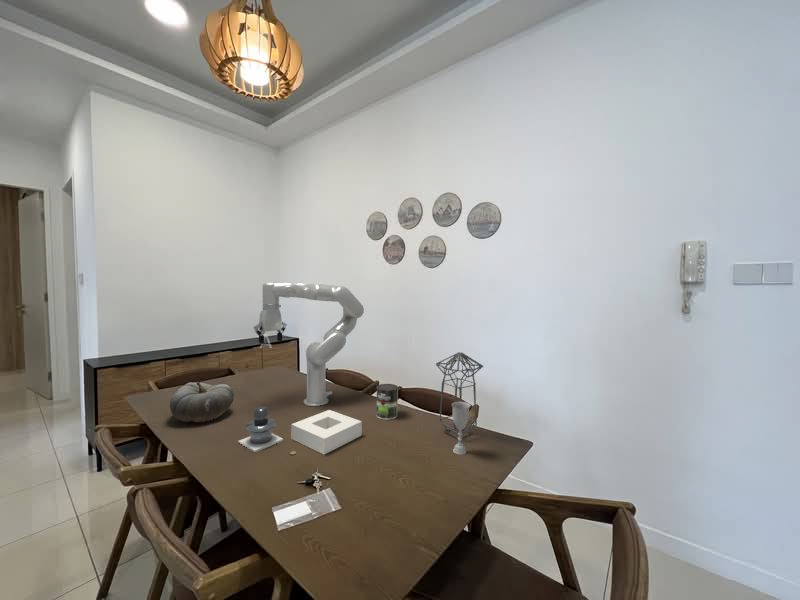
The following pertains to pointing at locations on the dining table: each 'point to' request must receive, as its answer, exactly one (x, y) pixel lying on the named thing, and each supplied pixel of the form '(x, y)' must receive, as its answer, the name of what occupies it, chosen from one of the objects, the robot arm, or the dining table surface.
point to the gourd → (201, 402)
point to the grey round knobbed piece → (260, 426)
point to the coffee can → (387, 401)
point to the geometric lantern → (459, 356)
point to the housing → (326, 431)
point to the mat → (259, 447)
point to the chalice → (460, 423)
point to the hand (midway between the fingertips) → (270, 342)
